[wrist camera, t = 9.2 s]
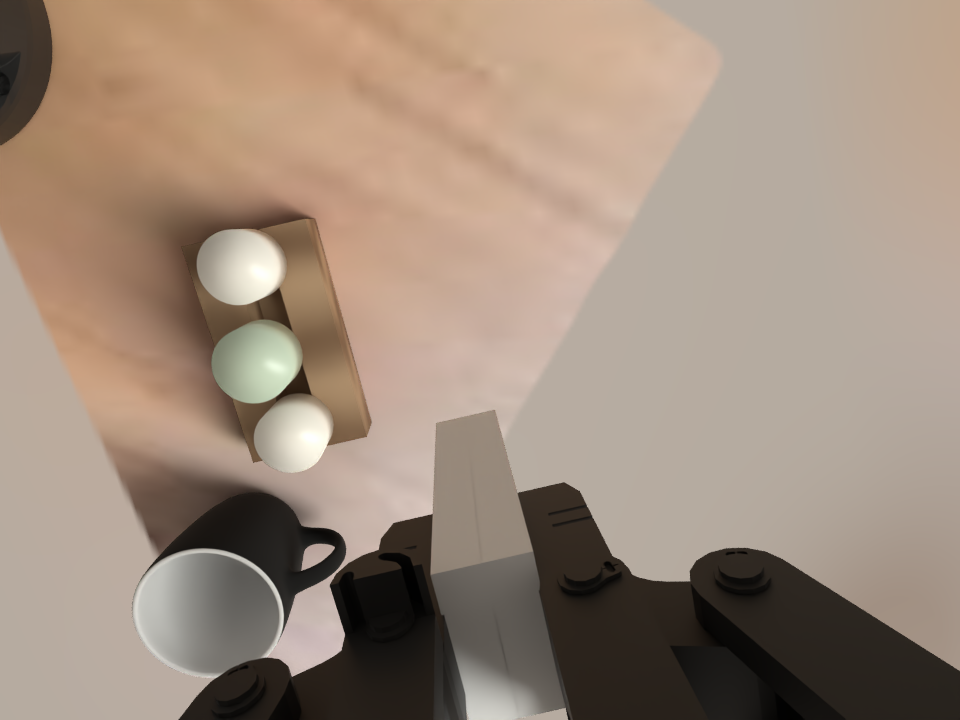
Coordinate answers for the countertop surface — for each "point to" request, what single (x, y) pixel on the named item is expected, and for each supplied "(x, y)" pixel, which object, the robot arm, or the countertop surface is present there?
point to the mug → (228, 585)
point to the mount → (297, 332)
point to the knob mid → (256, 361)
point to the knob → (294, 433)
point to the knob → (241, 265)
